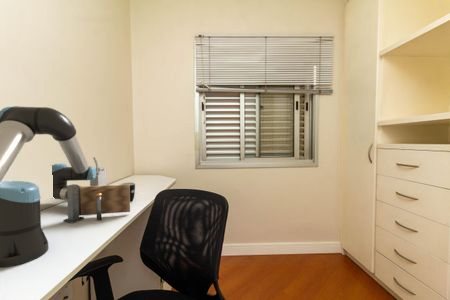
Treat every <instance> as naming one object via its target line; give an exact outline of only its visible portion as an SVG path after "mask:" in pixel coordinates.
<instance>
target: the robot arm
mask: <svg viewBox="0 0 450 300" xmlns="http://www.w3.org/2000/svg"><path fill="white" fill-rule="evenodd" d="M36 135H49V136H51V137H52V139H54V141H57V142H58V143H59V144H58V145H59V146H60V148H61V150H62V151H63V153H64V155H65V158H66V159H67V161H68V163H69V165H70V166H67V163H60V162H59V163H60V164H58V163H53V164H54V165H52V164H51V165H52V175H53V197H54V198H55V199H54V200H62V201H67V202H68V199H67V185H68V182H72V181H73V182H74V181H75V182H76V181H90V180H94V179H95V177H96V166H91V165H90V166H89V163H88V161H87V159H86V156H85V154H84V152H83V150H82V147H81V145H80V142H79V141H78V138H77V130H76V128H75V125H74V124H73V122H72V121H71V120H70V119H69V118H68V117H67V116H66V115H65V114H63V113H62V112H60V111H59V110H58V109H57V110H56V109H54V108H52V107H49V106H48V107H47V106H44V107H40V106H39V107H37V106H18V105H15V106H6V107H3V108H2V109H1V110H0V268H6V267H7V268H8V267H13V266H17V265H21V264H25V263H27V262H31V261H34V260H35V259H38V258H40V257H41V256H43V255H44V254H46V253H47V252H48V251H49V241H48V238H47V236H46V235H45V232H44V230H43V229H42V219H41V194H40V188H39V186H38V185H37V184H36V183H34V182H30V181H22V180H20V181H19V180H12V181H11V180H10V181H3V179H4V177H5V176H6V175H7V172H8V171H9V169H10V168H11V166H12V164H13V163H14V161H15V160H16V158H17V157H18V155H19V153H20V152H21V150H22V148H23V146H24V145H25V143H28V142H31V141H32V140H33V139H34V137H35V136H36Z"/></svg>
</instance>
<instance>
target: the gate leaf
mask: <svg viewBox="0 0 450 300" xmlns="http://www.w3.org/2000/svg"><path fill="white" fill-rule="evenodd" d="M96 193H101V215H104V214H105V215H106V214H118V213H119V214H120V213H130V212H131V202H130V184H125V185H118V184H107V185H103V186H90V185H83V186H82V185H78V195H79V217H81V216H91V215H96V196H95V194H96Z"/></svg>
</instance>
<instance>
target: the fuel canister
mask: <svg viewBox="0 0 450 300" xmlns="http://www.w3.org/2000/svg"><path fill="white" fill-rule="evenodd" d="M92 159H93V160H94V163H95V168H96V177H95V179H94V180H89V186H103V185H108V181H107V179H108V178H107V167H106V166H100V167H99V166H98V160H97V159H96V157H93V158H92Z"/></svg>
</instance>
